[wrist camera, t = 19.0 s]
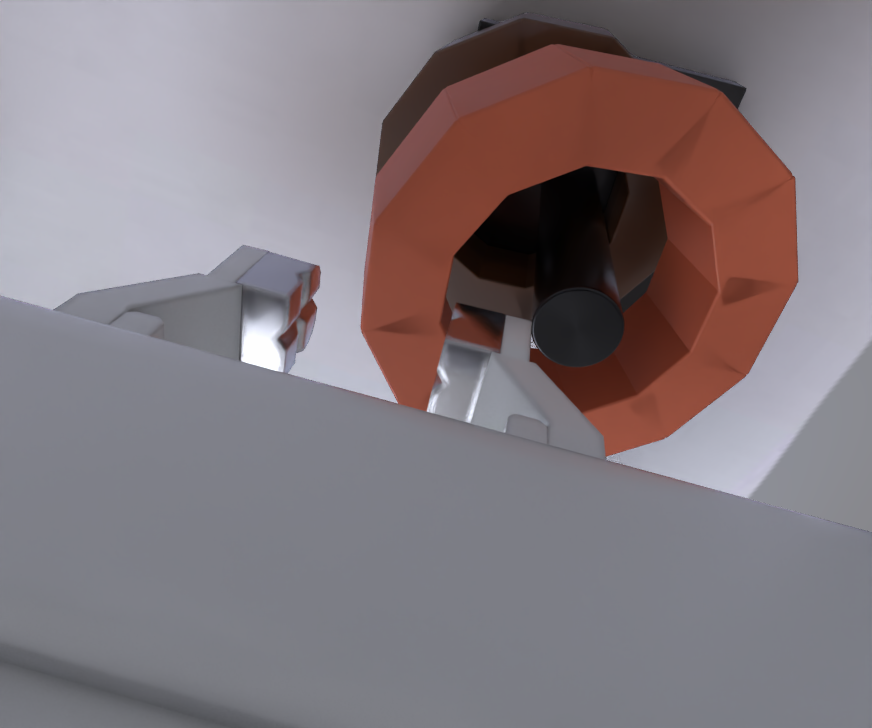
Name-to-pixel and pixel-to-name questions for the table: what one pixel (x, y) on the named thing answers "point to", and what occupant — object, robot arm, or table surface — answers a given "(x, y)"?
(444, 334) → the terracotta ring
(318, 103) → the table surface
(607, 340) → the peg stand
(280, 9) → the table surface
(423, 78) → the walnut ring
